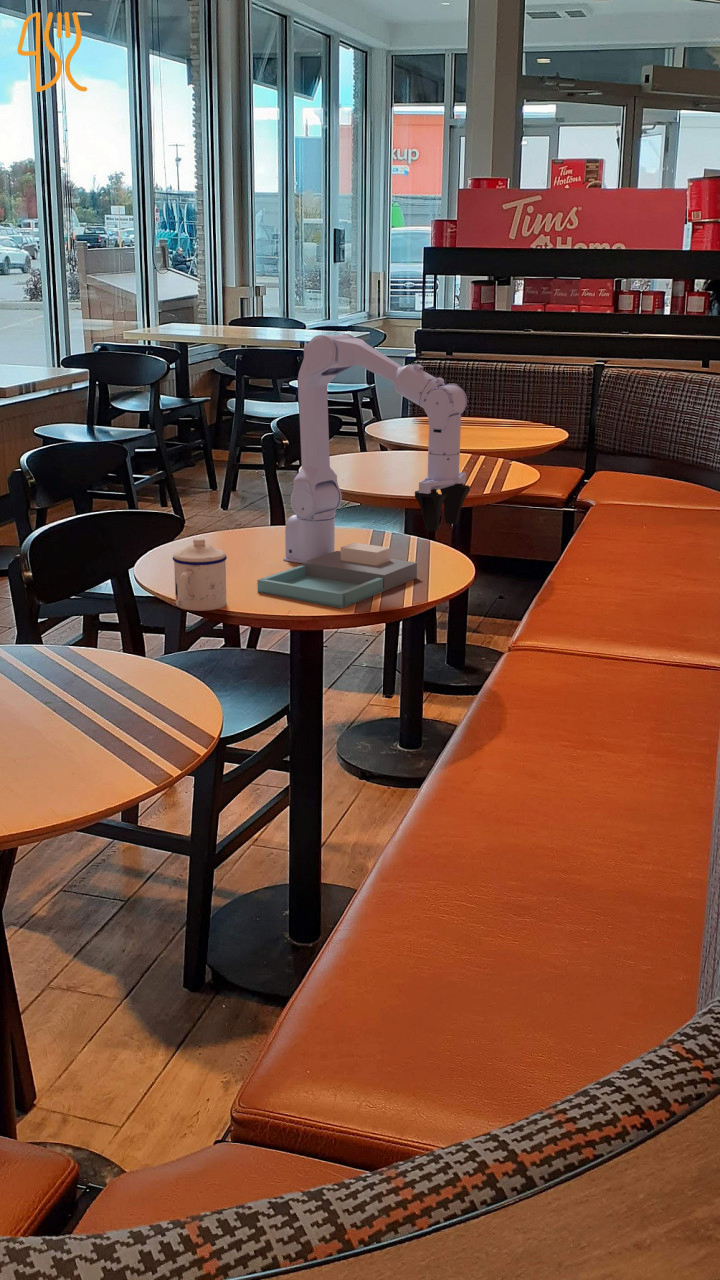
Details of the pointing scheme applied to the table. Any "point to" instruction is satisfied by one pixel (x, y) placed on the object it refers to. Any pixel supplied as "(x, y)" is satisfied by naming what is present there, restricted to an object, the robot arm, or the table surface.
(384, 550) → the cream tile
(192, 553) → the teacup with lid
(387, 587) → the bench plate
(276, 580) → the tray
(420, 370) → the robot arm
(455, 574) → the table surface
